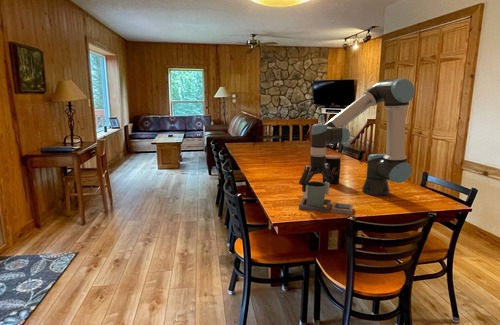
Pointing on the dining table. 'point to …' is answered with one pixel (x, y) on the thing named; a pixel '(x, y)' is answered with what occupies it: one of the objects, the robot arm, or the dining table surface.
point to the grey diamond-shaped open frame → (342, 211)
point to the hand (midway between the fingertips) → (316, 196)
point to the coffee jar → (333, 167)
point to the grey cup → (316, 193)
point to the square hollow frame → (314, 208)
